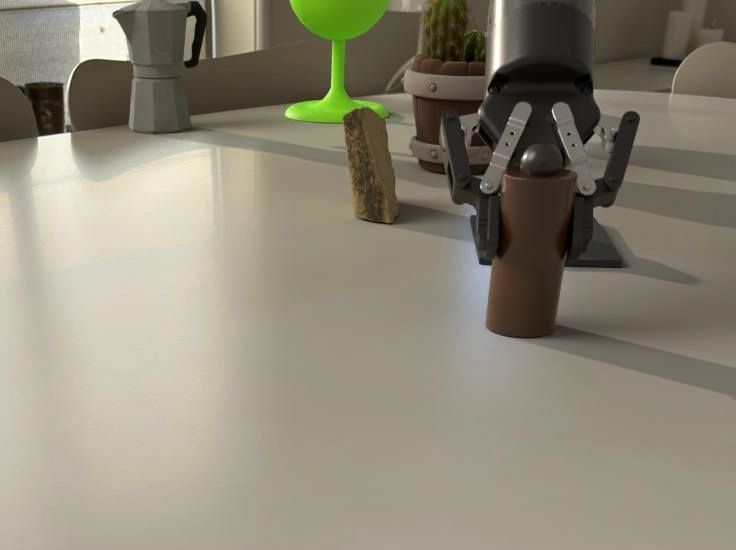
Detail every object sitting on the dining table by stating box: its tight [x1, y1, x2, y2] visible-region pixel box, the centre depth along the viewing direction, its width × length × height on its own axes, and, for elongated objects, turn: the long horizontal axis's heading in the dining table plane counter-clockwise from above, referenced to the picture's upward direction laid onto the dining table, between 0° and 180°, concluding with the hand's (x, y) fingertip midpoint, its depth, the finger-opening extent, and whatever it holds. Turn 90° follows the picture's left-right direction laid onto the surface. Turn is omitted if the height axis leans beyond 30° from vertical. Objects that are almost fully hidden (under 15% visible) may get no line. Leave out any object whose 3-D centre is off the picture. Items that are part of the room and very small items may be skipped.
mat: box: [469, 214, 623, 268], centre depth 97 cm, size 12×16×1 cm
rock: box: [341, 107, 400, 225], centre depth 107 cm, size 11×9×10 cm
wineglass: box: [284, 0, 392, 124], centre depth 158 cm, size 16×16×18 cm
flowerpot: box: [400, 0, 493, 175], centre depth 122 cm, size 14×15×20 cm
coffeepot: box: [111, 0, 208, 134], centre depth 149 cm, size 15×9×18 cm, turn 128°
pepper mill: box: [484, 142, 578, 339], centre depth 74 cm, size 5×5×12 cm
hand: (533, 253), depth 73 cm, fingers closed on pepper mill, 5 cm apart
